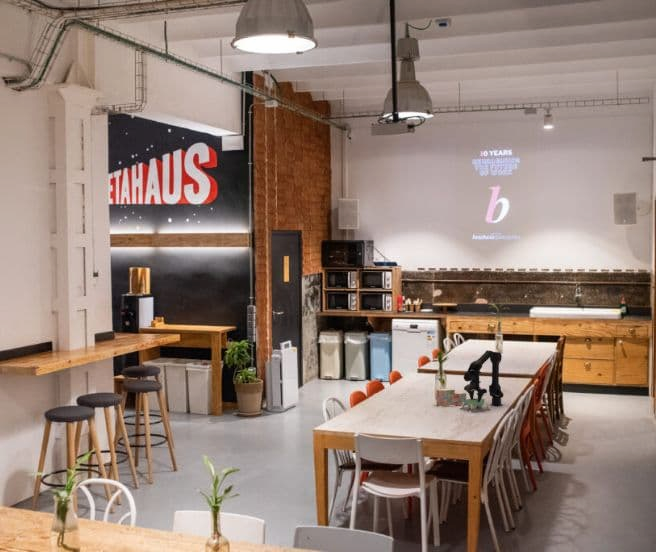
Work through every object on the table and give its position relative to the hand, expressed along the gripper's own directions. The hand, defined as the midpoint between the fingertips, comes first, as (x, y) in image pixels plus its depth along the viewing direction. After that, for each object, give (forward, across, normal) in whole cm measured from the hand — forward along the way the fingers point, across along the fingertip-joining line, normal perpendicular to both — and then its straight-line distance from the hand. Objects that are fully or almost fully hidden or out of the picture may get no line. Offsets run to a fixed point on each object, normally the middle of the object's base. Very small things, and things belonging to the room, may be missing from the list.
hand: (475, 401), depth 580 cm
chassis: (+6, 0, 0) cm, 6 cm away
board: (+2, 0, 0) cm, 3 cm away
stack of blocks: (+6, -22, -4) cm, 23 cm away
